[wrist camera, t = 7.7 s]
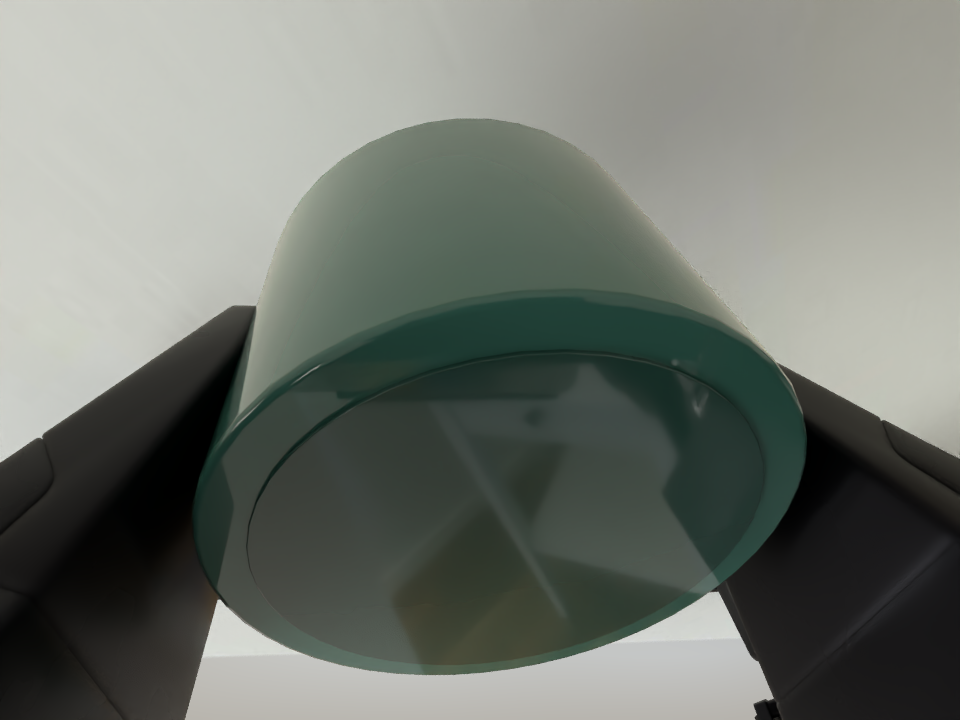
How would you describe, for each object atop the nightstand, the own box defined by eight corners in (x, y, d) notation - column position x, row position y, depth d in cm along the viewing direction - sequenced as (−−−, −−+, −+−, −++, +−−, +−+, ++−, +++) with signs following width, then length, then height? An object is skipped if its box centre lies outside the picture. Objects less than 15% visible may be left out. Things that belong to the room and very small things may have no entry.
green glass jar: (689, 126, 8) (956, 306, 4) (591, 423, 12) (688, 658, 8) (245, 89, 7) (83, 286, 3) (294, 429, 11) (245, 703, 7)
